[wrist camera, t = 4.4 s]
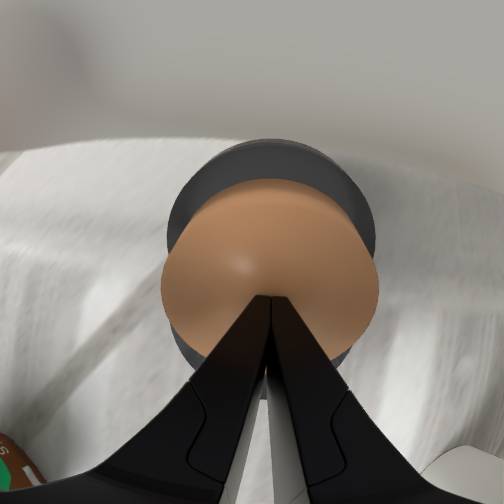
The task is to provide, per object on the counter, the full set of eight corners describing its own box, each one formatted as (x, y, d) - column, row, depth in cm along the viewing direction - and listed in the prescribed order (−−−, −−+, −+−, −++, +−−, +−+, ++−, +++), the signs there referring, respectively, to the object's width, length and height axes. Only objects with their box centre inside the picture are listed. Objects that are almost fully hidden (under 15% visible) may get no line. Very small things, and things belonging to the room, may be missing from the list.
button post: (349, 395, 14) (424, 445, 6) (167, 383, 14) (87, 425, 6) (355, 219, 16) (417, 139, 8) (185, 208, 17) (135, 121, 9)
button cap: (337, 370, 10) (402, 402, 5) (186, 360, 11) (123, 386, 5) (341, 234, 12) (397, 164, 6) (200, 225, 12) (159, 148, 7)
